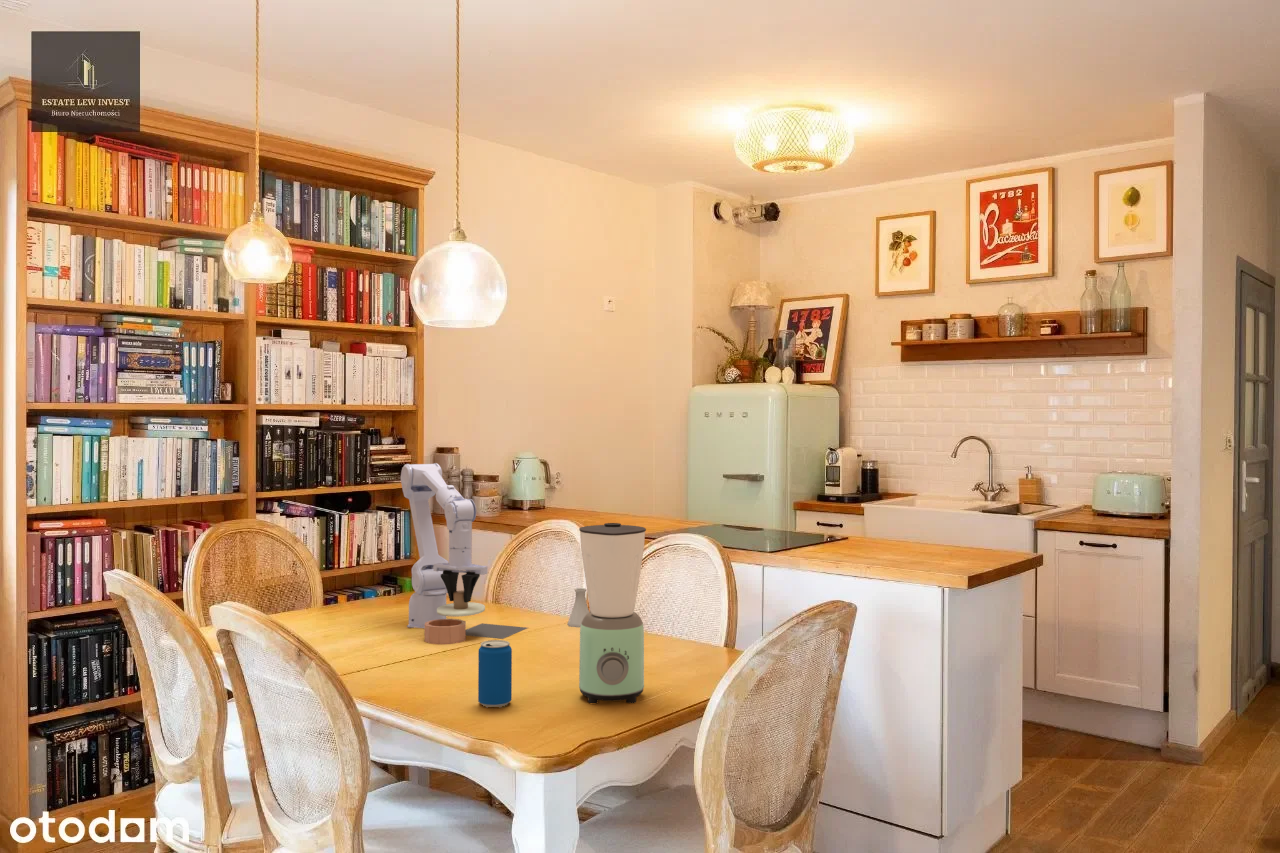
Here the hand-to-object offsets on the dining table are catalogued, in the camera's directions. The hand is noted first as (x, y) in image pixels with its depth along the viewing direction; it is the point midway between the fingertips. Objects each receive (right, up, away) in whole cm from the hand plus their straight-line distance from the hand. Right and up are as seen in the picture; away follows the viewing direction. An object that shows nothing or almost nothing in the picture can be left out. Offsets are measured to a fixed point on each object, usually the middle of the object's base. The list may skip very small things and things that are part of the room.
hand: (460, 601), depth 252 cm
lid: (0, -3, 0) cm, 3 cm away
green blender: (+40, -11, -50) cm, 65 cm away
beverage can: (+17, -11, -57) cm, 60 cm away
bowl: (-3, -9, -3) cm, 10 cm away
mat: (+7, -9, +7) cm, 14 cm away
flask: (+30, -10, +16) cm, 35 cm away
